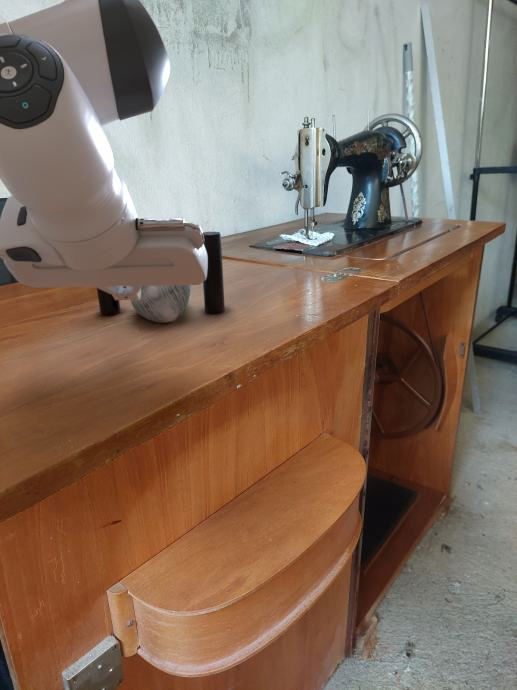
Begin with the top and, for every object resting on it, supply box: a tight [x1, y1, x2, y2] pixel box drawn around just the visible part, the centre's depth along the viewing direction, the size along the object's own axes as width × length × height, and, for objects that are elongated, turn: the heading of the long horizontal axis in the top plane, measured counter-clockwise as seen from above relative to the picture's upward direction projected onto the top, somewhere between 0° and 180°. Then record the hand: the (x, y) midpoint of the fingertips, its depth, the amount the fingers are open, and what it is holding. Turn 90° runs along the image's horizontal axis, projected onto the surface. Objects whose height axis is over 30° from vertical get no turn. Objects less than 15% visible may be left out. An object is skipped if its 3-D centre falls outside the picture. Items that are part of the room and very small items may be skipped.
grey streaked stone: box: [130, 285, 192, 324], centre depth 77 cm, size 14×10×10 cm
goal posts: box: [96, 231, 226, 317], centre depth 77 cm, size 19×3×12 cm, turn 88°
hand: (128, 294), depth 61 cm, fingers closed
